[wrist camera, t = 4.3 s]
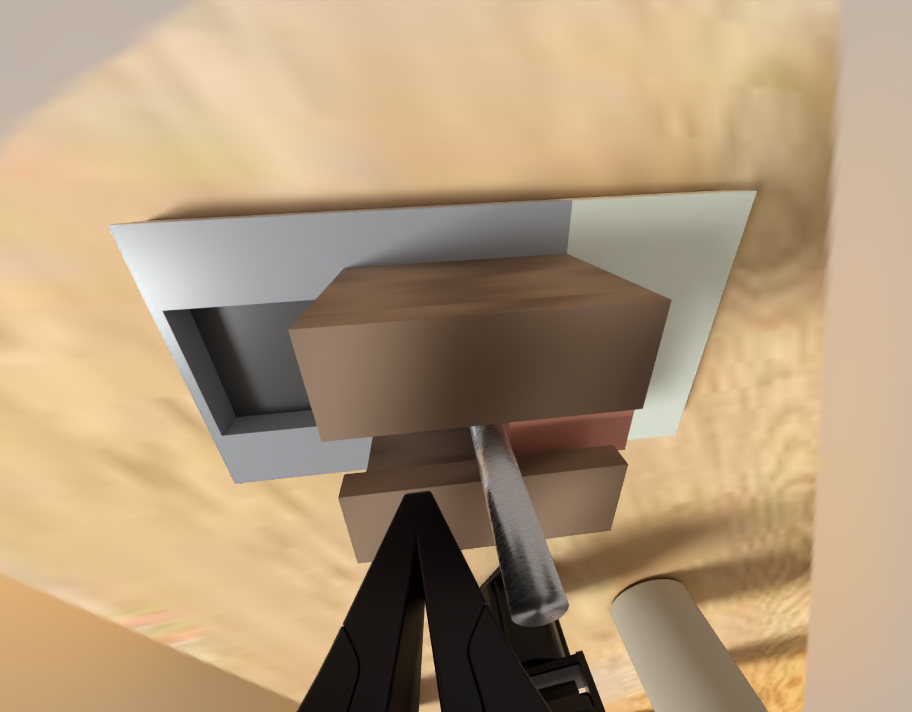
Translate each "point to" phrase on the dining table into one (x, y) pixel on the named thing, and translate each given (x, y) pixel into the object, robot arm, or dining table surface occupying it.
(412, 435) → the tunnel
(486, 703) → the robot arm
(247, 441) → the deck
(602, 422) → the block
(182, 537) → the dining table surface
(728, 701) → the travel mug
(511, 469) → the grey piece
